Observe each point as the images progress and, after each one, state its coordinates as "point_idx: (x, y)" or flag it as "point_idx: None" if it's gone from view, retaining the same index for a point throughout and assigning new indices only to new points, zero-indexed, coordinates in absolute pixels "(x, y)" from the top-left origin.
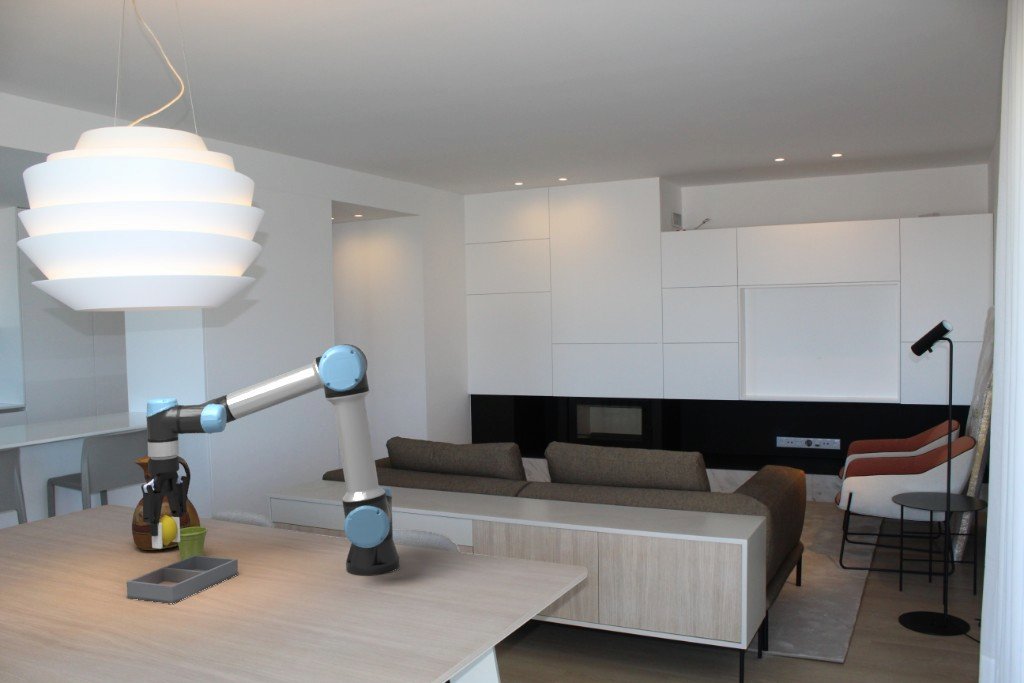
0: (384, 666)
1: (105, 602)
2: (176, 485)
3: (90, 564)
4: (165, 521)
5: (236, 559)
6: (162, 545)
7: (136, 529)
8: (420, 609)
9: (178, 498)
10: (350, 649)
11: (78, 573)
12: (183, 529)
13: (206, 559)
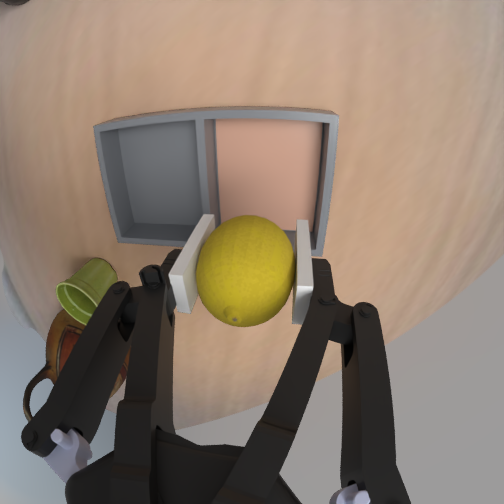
0: None
1: (343, 259)
2: (89, 429)
3: (196, 369)
4: (268, 284)
5: (94, 127)
6: None
7: (125, 373)
8: None
9: (112, 361)
10: None
11: (230, 364)
12: (82, 321)
13: (117, 205)
